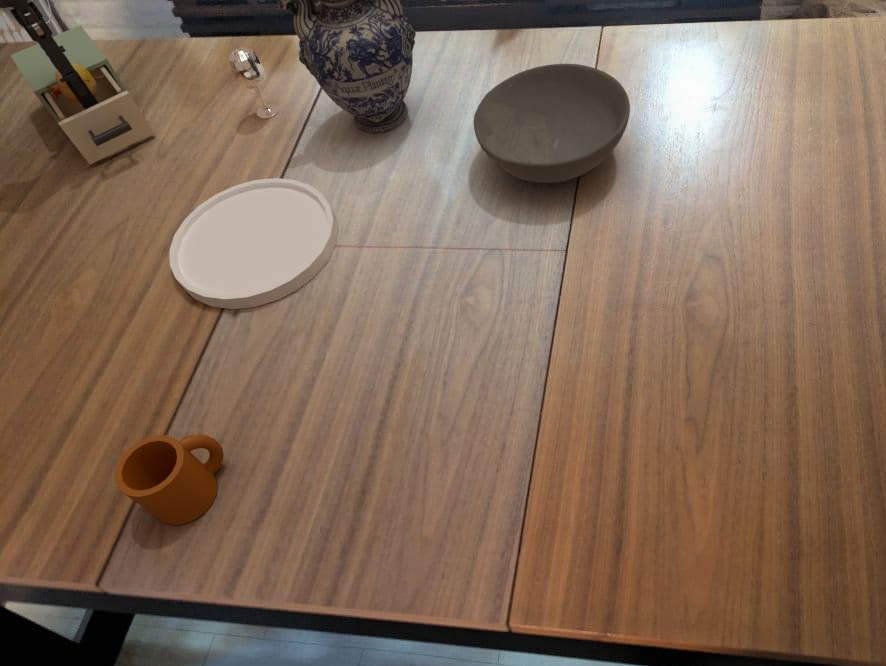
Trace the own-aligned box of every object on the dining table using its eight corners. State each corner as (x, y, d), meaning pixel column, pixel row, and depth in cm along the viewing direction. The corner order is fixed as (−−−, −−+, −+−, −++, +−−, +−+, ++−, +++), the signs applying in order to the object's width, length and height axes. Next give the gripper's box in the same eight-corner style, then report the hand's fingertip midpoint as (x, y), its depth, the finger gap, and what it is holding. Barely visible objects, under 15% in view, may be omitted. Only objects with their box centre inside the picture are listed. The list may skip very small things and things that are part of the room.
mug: (249, 487, 96) (217, 457, 89) (166, 538, 93) (126, 511, 86) (225, 442, 101) (193, 409, 93) (145, 488, 98) (105, 459, 90)
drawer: (162, 143, 137) (136, 103, 130) (97, 176, 134) (66, 136, 126) (128, 98, 146) (101, 58, 139) (65, 127, 143) (35, 88, 135)
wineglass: (286, 112, 140) (260, 55, 130) (259, 124, 139) (232, 68, 129) (275, 98, 143) (249, 41, 133) (249, 110, 142) (221, 54, 132)
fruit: (92, 51, 133) (37, 68, 131) (91, 60, 128) (34, 78, 126) (113, 88, 137) (61, 105, 135) (113, 98, 132) (59, 116, 131)
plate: (262, 169, 132) (256, 159, 129) (371, 224, 121) (366, 213, 119) (143, 266, 121) (135, 256, 119) (251, 335, 111) (244, 325, 109)
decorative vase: (330, 159, 132) (268, 9, 108) (323, 100, 141) (264, -49, 118) (442, 133, 133) (404, -21, 109) (427, 76, 142) (390, -76, 119)
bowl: (605, 221, 117) (605, 172, 108) (459, 195, 123) (448, 148, 115) (645, 121, 129) (647, 70, 121) (510, 103, 136) (504, 53, 127)
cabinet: (137, 106, 146) (106, 58, 137) (70, 139, 142) (33, 91, 133) (111, 72, 154) (80, 24, 145) (46, 102, 150) (10, 55, 141)
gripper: (37, -14, 111) (122, 113, 131) (4, -58, 120) (88, 67, 140) (-10, 6, 109) (84, 132, 129) (-40, -41, 118) (51, 83, 138)
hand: (86, 98), depth 134 cm, fingers closed on fruit, 7 cm apart
